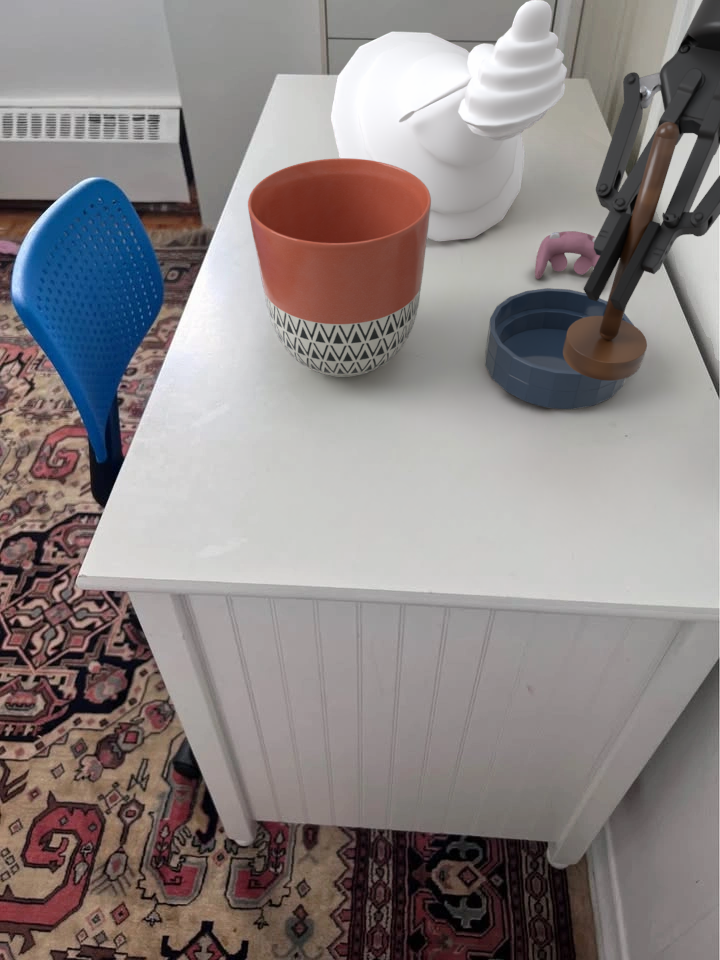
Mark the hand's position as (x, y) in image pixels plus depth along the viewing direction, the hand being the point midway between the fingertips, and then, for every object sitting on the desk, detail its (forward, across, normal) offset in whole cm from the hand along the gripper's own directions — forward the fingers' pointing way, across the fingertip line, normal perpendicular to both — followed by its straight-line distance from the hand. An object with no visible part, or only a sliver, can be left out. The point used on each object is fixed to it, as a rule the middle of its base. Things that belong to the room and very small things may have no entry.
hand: (603, 299), depth 58 cm
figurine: (-14, +43, -49) cm, 67 cm away
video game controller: (-11, +18, -46) cm, 51 cm away
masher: (+3, 0, -8) cm, 9 cm away
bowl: (+3, +10, -31) cm, 33 cm away
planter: (+14, +32, -21) cm, 41 cm away
